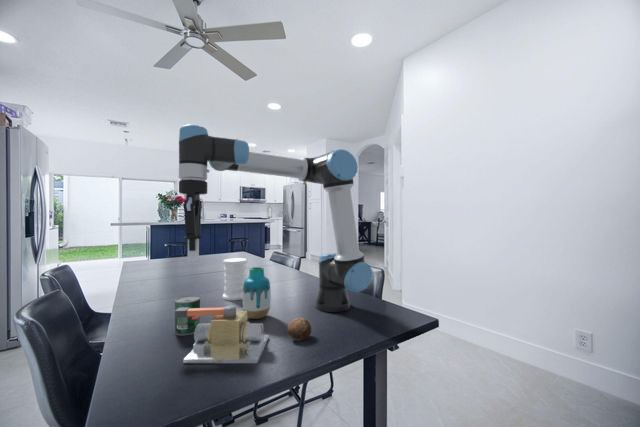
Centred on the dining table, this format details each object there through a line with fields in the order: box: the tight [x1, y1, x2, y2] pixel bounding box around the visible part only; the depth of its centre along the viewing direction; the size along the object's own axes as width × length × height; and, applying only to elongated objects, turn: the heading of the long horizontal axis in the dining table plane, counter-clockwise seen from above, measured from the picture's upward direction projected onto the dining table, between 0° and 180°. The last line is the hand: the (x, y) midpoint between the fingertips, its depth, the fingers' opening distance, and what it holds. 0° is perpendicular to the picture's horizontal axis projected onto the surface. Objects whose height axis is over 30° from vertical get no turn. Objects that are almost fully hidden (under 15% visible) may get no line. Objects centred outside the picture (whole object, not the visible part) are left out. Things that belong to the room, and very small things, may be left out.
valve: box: [182, 310, 269, 364], centre depth 80 cm, size 20×15×10 cm
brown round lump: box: [286, 317, 312, 342], centre depth 89 cm, size 8×8×6 cm
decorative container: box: [222, 257, 248, 301], centre depth 133 cm, size 12×12×18 cm
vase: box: [242, 266, 272, 320], centre depth 105 cm, size 11×11×19 cm
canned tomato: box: [174, 295, 201, 337], centre depth 94 cm, size 8×8×11 cm
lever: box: [174, 305, 237, 319], centre depth 80 cm, size 17×4×2 cm, turn 96°
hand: (193, 261), depth 79 cm, fingers closed
